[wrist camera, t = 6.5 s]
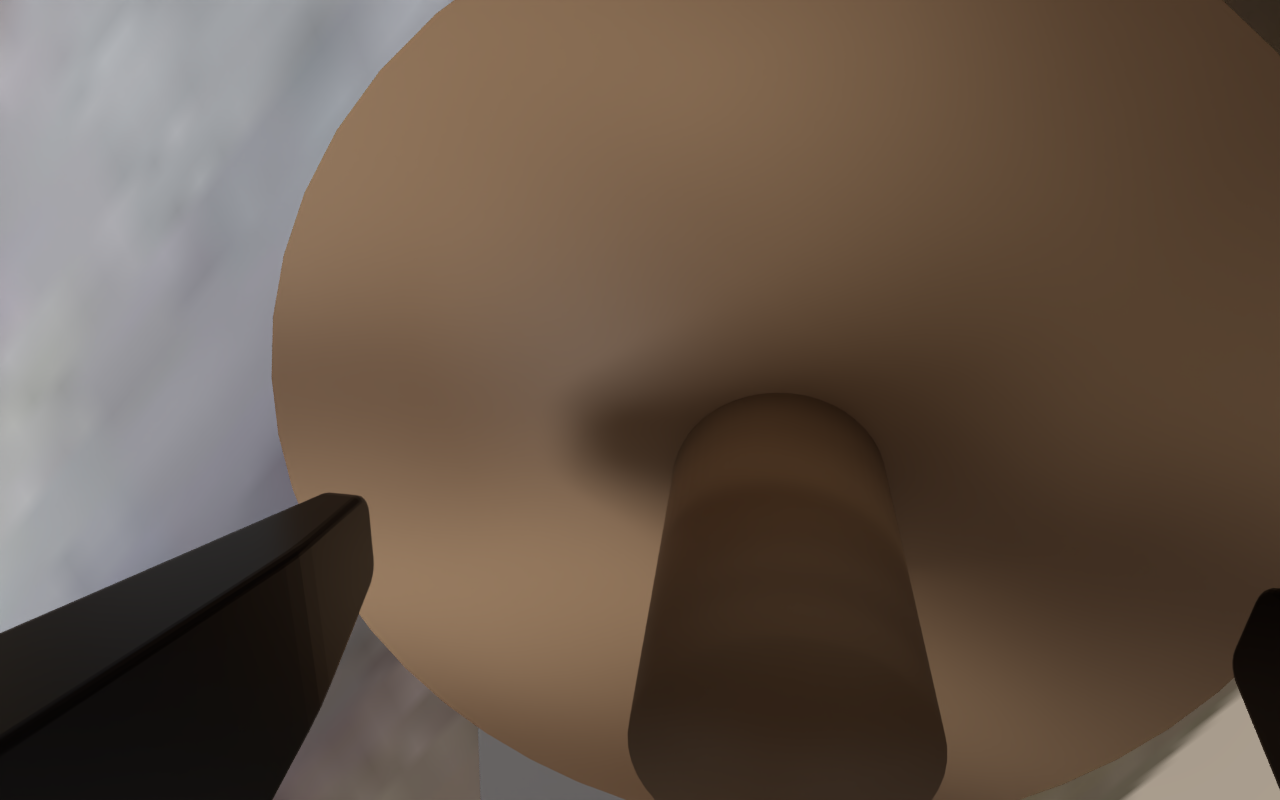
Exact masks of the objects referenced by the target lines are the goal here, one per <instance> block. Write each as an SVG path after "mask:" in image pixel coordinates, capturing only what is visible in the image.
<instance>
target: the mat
mask: <svg viewBox="0 0 1280 800" xmlns="http://www.w3.org/2000/svg"><path fill="white" fill-rule="evenodd" d="M478 742H479V769H480V795H481V800H625V799H622V798H620V797H617V796H614V795H612V794H609V793H606V792H604V791H601V790H598V789H595V788H593V787H590V786H587V785H585V784H582V783H579V782H577V781H575V780H573V779H571V778H569V777H566V776H564V775H562V774H560V773H558V772H556V771H554V770H552V769H550V768H547V767H545V766H543V765H541V764H539V763H537V762H535V761H533V760H531V759H529V758H527V757H526V756H524V755H522V754H521V753H519V752H517V751H516V750H514V749H512V748H510V747H509V746H507V745H505V744H504V743H502V742H500V741H499V740H497V739H495V738H494V737H492V736H490V735H488V734H487V733H485V732H484V731H483V730H481V729H480V728H479V727H478Z"/></svg>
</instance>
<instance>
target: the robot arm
mask: <svg viewBox="0 0 1280 800" xmlns="http://www.w3.org/2000/svg"><path fill="white" fill-rule="evenodd" d="M373 571H374V556H373V546H372V535H371V525H370V514H369V507H368V505H367V502H366V500H365V499H364V498H363V497H362V496H359V495H351V494H341V493H331V492H329V493H323V494H320V495H318V496H316V497H313V498H311V499H309V500H307V501H304V502H302V503H300V504H297V505H295V506H293V507H290V508H288V509H286V510H283V511H281V512H279V513H277V514H274V515H272V516H270V517H267V518H265V519H263V520H260V521H258V522H256V523H253V524H251V525H249V526H247V527H244V528H242V529H240V530H237V531H235V532H233V533H230V534H228V535H226V536H224V537H221V538H219V539H217V540H214V541H212V542H210V543H207V544H205V545H203V546H200V547H198V548H196V549H194V550H191V551H189V552H187V553H184V554H182V555H180V556H177V557H175V558H173V559H170V560H168V561H166V562H164V563H161V564H159V565H157V566H154V567H152V568H150V569H147V570H145V571H143V572H140V573H138V574H136V575H134V576H131V577H129V578H127V579H124V580H122V581H120V582H117V583H115V584H113V585H110V586H108V587H106V588H104V589H101V590H99V591H97V592H94V593H92V594H90V595H87V596H85V597H83V598H80V599H78V600H76V601H74V602H71V603H69V604H67V605H64V606H62V607H60V608H57V609H55V610H53V611H50V612H48V613H46V614H44V615H41V616H39V617H37V618H34V619H32V620H30V621H27V622H25V623H23V624H20V625H18V626H16V627H14V628H11V629H9V630H7V631H4V632H2V633H0V800H272V799H273V797H274V796H275V794H276V792H277V790H278V788H279V786H280V784H281V783H282V781H283V779H284V777H285V775H286V773H287V771H288V769H289V768H290V766H291V764H292V762H293V760H294V758H295V756H296V755H297V753H298V751H299V749H300V747H301V745H302V743H303V741H304V740H305V738H306V736H307V734H308V732H309V730H310V728H311V726H312V724H313V722H314V720H315V718H316V716H317V714H318V712H319V710H320V708H321V706H322V704H323V701H324V699H325V697H326V694H327V692H328V690H329V687H330V685H331V682H332V680H333V677H334V675H335V672H336V670H337V667H338V665H339V662H340V660H341V657H342V655H343V652H344V650H345V647H346V645H347V642H348V640H349V637H350V635H351V632H352V630H353V627H354V625H355V622H356V620H357V617H358V615H359V612H360V610H361V607H362V604H363V602H364V599H365V597H366V594H367V592H368V589H369V587H370V584H371V581H372V577H373ZM1232 668H1233V674H1234V678H1235V681H1236V684H1237V686H1238V689H1239V691H1240V693H1241V696H1242V698H1243V700H1244V703H1245V705H1246V708H1247V711H1248V713H1249V715H1250V718H1251V720H1252V723H1253V725H1254V728H1255V730H1256V732H1257V735H1258V737H1259V740H1260V742H1261V745H1262V747H1263V750H1264V752H1265V754H1266V757H1267V759H1268V762H1269V764H1270V767H1271V769H1272V771H1273V774H1274V776H1275V779H1276V781H1277V784H1278V786H1279V788H1280V588H1271V589H1268V590H1266V591H1264V592H1263V593H1262V594H1261V595H1260V596H1259V597H1258V599H1257V601H1256V603H1255V605H1254V607H1253V609H1252V612H1251V614H1250V616H1249V619H1248V621H1247V623H1246V625H1245V628H1244V630H1243V632H1242V635H1241V637H1240V639H1239V641H1238V644H1237V646H1236V648H1235V651H1234V654H1233V661H1232Z"/></svg>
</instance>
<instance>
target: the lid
mask: <svg viewBox="0 0 1280 800" xmlns="http://www.w3.org/2000/svg"><path fill="white" fill-rule="evenodd" d="M272 384H273V392H274V401H275V409H276V418H277V426H278V434H279V438H280V442H281V446H282V450H283V454H284V457H285V461H286V465H287V469H288V473H289V477H290V480H291V484H292V488H293V491H294V493H295V496H296V498H297V501H298V503H299V504H300V503H302V502H304V501H307V500H309V499H311V498H313V497H316V496H318V495H320V494H323V493H329V492H331V493H341V494H351V495H359V496H362V497H363V498H364V499H365V500H366V502H367V505H368V507H369V514H370V525H371V535H372V546H373V556H374V571H373V577H372V581H371V584H370V587H369V589H368V592H367V594H366V597H365V599H364V602H363V604H362V607H361V610H360V612H359V614H360V615H361V617H362V618H363V620H364V621H365V622H366V624H367V625H368V627H369V628H370V629H371V630H372V631H373V633H374V634H375V635H376V636H377V637H378V638H379V639H380V640H381V641H382V642H383V644H384V645H385V646H386V647H387V648H388V649H389V650H390V651H391V652H392V653H393V655H394V656H395V657H396V658H397V659H398V660H399V661H400V662H401V663H402V665H403V666H404V667H405V668H406V669H407V670H408V671H410V672H411V673H412V674H413V675H414V676H415V677H416V678H417V679H419V680H420V681H421V682H422V683H423V684H424V685H425V686H426V687H427V688H429V689H430V690H431V691H432V692H433V693H434V694H435V695H436V696H438V697H439V698H440V699H441V700H442V701H443V702H444V703H446V704H447V705H448V706H450V707H451V708H452V709H454V710H455V711H457V712H458V713H459V714H461V715H462V716H463V717H465V718H466V719H468V720H469V721H470V722H472V723H473V724H474V725H476V726H477V727H479V728H480V729H481V730H483V731H484V732H485V733H487V734H488V735H490V736H492V737H494V738H495V739H497V740H499V741H500V742H502V743H504V744H505V745H507V746H509V747H510V748H512V749H514V750H516V751H517V752H519V753H521V754H522V755H524V756H526V757H527V758H529V759H531V760H533V761H535V762H537V763H539V764H541V765H543V766H545V767H547V768H550V769H552V770H554V771H556V772H558V773H560V774H562V775H564V776H566V777H569V778H571V779H573V780H575V781H577V782H579V783H582V784H585V785H587V786H590V787H593V788H595V789H598V790H601V791H604V792H606V793H609V794H612V795H614V796H617V797H620V798H622V799H625V800H1020V799H1023V798H1025V797H1028V796H1031V795H1034V794H1037V793H1040V792H1043V791H1045V790H1048V789H1051V788H1054V787H1057V786H1060V785H1063V784H1065V783H1067V782H1069V781H1071V780H1073V779H1076V778H1078V777H1080V776H1082V775H1084V774H1087V773H1089V772H1091V771H1093V770H1095V769H1097V768H1100V767H1102V766H1104V765H1106V764H1108V763H1110V762H1113V761H1115V760H1117V759H1119V758H1120V757H1122V756H1124V755H1125V754H1127V753H1129V752H1130V751H1132V750H1134V749H1136V748H1137V747H1139V746H1141V745H1142V744H1144V743H1146V742H1147V741H1149V740H1151V739H1152V738H1154V737H1156V736H1158V735H1159V734H1161V733H1163V732H1164V731H1166V730H1168V729H1169V728H1171V727H1172V726H1173V725H1175V724H1176V723H1177V722H1179V721H1180V720H1181V719H1183V718H1184V717H1185V716H1187V715H1188V714H1189V713H1191V712H1192V711H1194V710H1195V709H1196V708H1198V707H1199V706H1200V705H1202V704H1203V703H1204V702H1206V701H1207V700H1208V699H1210V698H1211V697H1212V696H1214V695H1215V694H1216V693H1218V692H1219V691H1220V690H1221V689H1222V688H1223V687H1224V686H1225V685H1226V684H1227V683H1229V682H1230V681H1231V680H1232V679H1233V678H1234V674H1233V668H1232V661H1233V654H1234V651H1235V648H1236V646H1237V644H1238V641H1239V639H1240V637H1241V635H1242V632H1243V630H1244V628H1245V625H1246V623H1247V621H1248V619H1249V616H1250V614H1251V612H1252V609H1253V607H1254V605H1255V603H1256V601H1257V599H1258V597H1259V596H1260V595H1261V594H1262V593H1263V592H1264V591H1266V590H1268V589H1271V588H1280V55H1279V54H1278V53H1277V52H1276V51H1275V50H1274V49H1273V48H1272V47H1271V46H1270V45H1269V44H1268V43H1267V42H1266V41H1264V40H1263V39H1262V38H1261V37H1260V36H1259V35H1258V34H1257V33H1256V32H1255V31H1254V30H1253V29H1252V28H1251V27H1250V26H1249V25H1248V24H1247V23H1246V22H1245V21H1244V20H1243V19H1242V18H1241V17H1240V16H1238V15H1237V14H1236V13H1235V12H1234V11H1233V10H1232V9H1231V8H1230V7H1229V6H1228V5H1227V4H1226V3H1225V2H1224V1H1223V0H454V1H453V2H451V3H450V4H449V5H447V6H446V7H445V8H443V9H442V10H441V11H439V12H438V13H437V14H435V15H434V17H433V18H432V19H431V20H430V21H429V22H428V23H427V24H426V25H425V26H424V27H423V28H422V29H421V30H420V31H419V32H418V33H417V34H416V35H415V36H414V37H413V38H412V39H411V40H410V41H409V42H408V43H407V44H406V45H405V46H404V47H403V48H402V49H401V50H400V51H399V52H398V53H397V54H396V55H395V56H394V57H393V58H392V59H391V60H390V61H389V62H388V63H387V64H386V65H385V66H384V67H383V68H382V69H381V70H380V71H379V73H378V74H377V76H376V77H375V78H374V80H373V81H372V82H371V84H370V85H369V87H368V88H367V89H366V91H365V92H364V93H363V95H362V96H361V98H360V99H359V100H358V102H357V103H356V104H355V106H354V107H353V109H352V110H351V111H350V113H349V114H348V116H347V117H346V118H345V120H344V121H343V122H342V124H341V125H340V127H339V128H338V129H337V131H336V133H335V135H334V137H333V139H332V141H331V142H330V144H329V146H328V148H327V150H326V152H325V154H324V156H323V158H322V160H321V162H320V164H319V166H318V168H317V170H316V172H315V174H314V176H313V178H312V179H311V181H310V183H309V185H308V187H307V189H306V191H305V193H304V196H303V199H302V202H301V205H300V208H299V211H298V214H297V217H296V220H295V223H294V226H293V229H292V232H291V235H290V238H289V241H288V244H287V247H286V250H285V253H284V257H283V263H282V269H281V275H280V280H279V286H278V292H277V298H276V304H275V309H274V315H273V343H272Z"/></svg>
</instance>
